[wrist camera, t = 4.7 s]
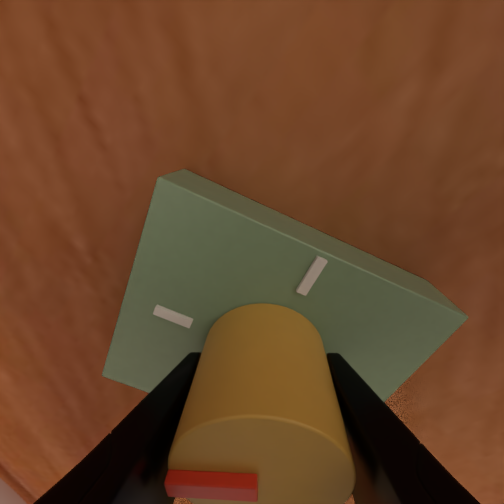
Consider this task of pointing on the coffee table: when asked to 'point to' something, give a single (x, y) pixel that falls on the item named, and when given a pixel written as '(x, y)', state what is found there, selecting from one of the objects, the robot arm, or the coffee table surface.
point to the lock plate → (265, 288)
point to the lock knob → (261, 417)
